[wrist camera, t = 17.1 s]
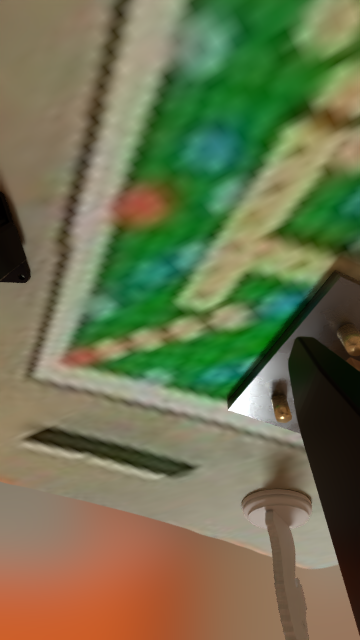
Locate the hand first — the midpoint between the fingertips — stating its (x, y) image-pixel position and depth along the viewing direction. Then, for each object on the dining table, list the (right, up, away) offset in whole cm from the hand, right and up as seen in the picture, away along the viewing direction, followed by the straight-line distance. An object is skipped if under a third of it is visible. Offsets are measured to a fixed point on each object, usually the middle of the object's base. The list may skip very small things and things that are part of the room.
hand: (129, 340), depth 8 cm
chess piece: (+15, -26, +34) cm, 46 cm away
